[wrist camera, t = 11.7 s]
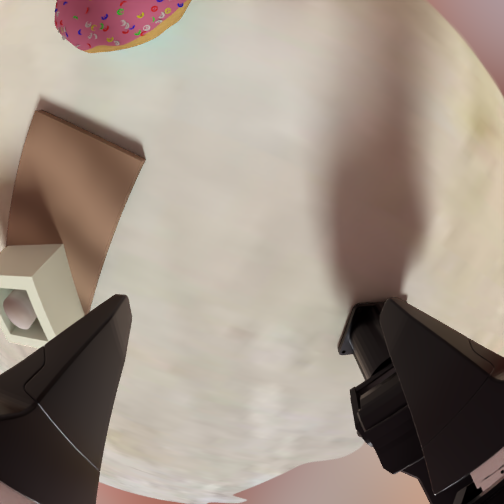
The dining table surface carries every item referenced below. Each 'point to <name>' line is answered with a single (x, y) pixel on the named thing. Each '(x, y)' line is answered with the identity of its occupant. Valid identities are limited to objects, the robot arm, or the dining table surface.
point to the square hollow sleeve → (39, 291)
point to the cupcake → (115, 22)
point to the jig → (68, 202)
